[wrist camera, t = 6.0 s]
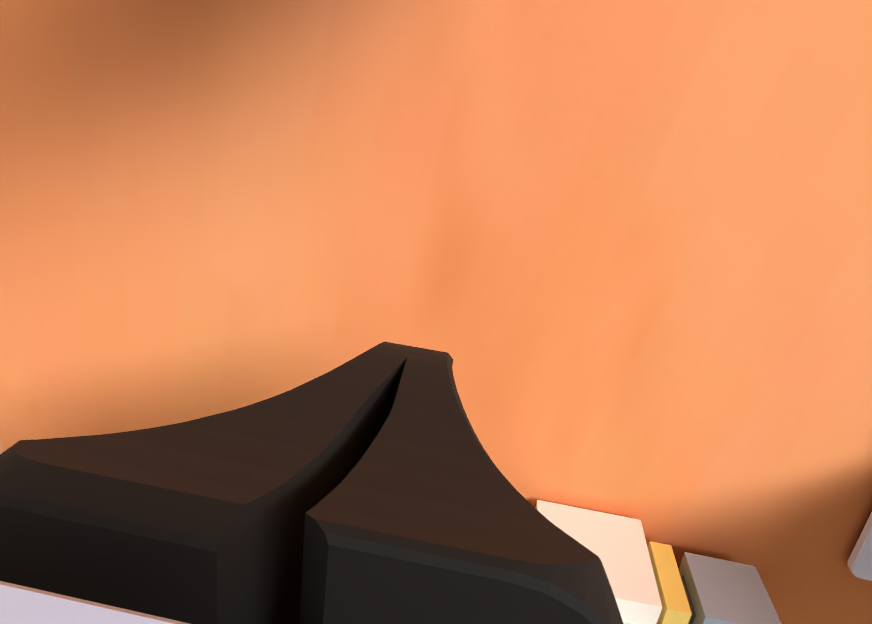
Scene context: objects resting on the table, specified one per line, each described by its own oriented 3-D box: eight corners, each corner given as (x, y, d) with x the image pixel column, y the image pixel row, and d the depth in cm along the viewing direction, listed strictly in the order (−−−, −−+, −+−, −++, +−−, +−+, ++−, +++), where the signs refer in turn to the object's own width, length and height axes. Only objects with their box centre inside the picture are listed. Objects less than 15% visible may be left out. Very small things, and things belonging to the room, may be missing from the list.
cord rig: (757, 520, 23) (801, 606, 19) (714, 626, 25) (746, 723, 21) (279, 429, 25) (234, 491, 21) (276, 536, 27) (234, 610, 23)
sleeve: (640, 519, 23) (674, 656, 18) (615, 600, 25) (639, 749, 19) (537, 499, 24) (539, 627, 18) (518, 580, 25) (515, 721, 20)
